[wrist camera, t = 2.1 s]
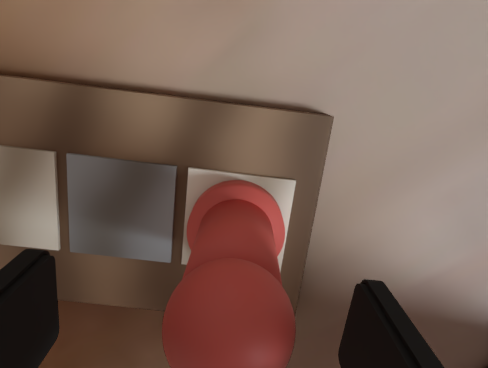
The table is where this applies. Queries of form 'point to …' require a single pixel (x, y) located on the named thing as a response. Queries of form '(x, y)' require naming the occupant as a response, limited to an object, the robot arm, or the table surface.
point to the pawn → (231, 285)
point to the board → (142, 182)
